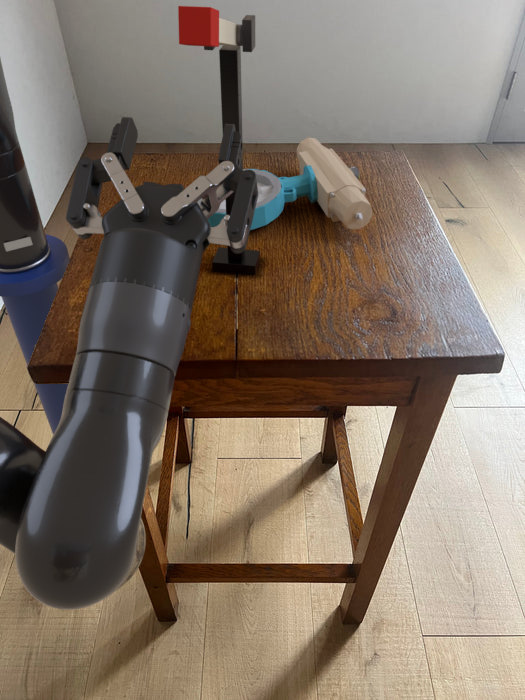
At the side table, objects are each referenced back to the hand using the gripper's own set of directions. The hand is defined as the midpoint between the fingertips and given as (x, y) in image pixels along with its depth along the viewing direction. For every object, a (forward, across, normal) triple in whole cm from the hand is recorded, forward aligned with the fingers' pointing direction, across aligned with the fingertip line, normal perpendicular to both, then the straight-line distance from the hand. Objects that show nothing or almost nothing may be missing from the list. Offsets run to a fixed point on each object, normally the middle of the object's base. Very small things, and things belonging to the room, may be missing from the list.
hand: (180, 127), depth 46 cm
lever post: (+5, 0, +34) cm, 34 cm away
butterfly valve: (+19, -2, +42) cm, 46 cm away
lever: (+13, 0, +5) cm, 14 cm away
